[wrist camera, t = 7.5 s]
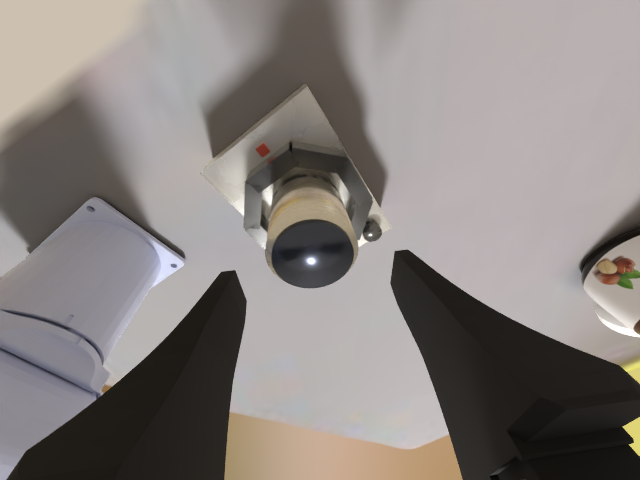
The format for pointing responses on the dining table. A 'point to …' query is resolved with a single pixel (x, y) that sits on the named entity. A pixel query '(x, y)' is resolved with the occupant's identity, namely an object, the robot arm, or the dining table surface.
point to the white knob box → (291, 166)
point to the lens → (309, 230)
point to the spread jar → (616, 283)
